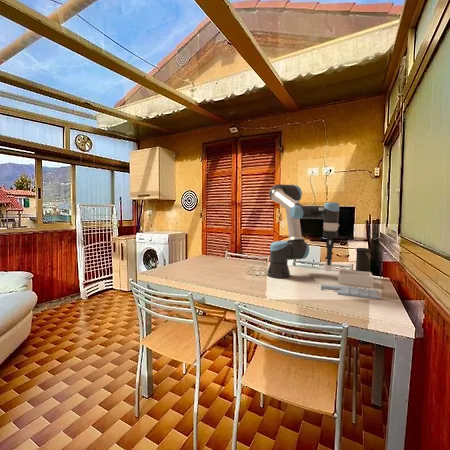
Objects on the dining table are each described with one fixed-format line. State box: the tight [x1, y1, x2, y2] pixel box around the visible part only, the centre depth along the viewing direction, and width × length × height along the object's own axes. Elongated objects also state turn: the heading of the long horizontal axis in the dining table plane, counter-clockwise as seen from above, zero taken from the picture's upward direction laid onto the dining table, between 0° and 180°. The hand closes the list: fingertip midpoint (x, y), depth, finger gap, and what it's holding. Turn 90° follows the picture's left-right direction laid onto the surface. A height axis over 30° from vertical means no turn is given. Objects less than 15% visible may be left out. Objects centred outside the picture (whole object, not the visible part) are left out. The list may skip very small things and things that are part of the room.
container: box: [355, 247, 372, 272], centre depth 164 cm, size 9×9×20 cm
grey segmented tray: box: [320, 283, 381, 301], centre depth 135 cm, size 28×13×2 cm, turn 66°
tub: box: [337, 268, 375, 289], centre depth 149 cm, size 18×12×7 cm, turn 66°
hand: (328, 268), depth 138 cm, fingers open, 13 cm apart
